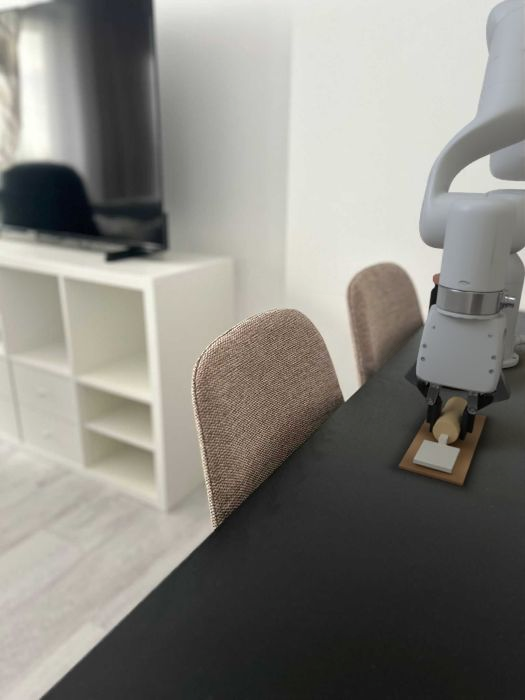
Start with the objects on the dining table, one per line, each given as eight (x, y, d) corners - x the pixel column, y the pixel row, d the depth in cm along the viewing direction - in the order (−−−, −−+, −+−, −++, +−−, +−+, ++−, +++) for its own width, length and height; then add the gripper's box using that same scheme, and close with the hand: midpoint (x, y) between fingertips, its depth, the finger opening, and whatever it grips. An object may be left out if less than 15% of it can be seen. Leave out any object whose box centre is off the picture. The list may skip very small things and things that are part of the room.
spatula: (440, 413, 76) (443, 393, 75) (472, 420, 74) (475, 400, 73) (412, 463, 63) (415, 439, 62) (451, 473, 60) (455, 449, 59)
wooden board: (434, 407, 79) (434, 404, 79) (485, 418, 76) (486, 416, 76) (398, 468, 63) (398, 465, 63) (462, 486, 59) (462, 483, 59)
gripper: (543, 303, 63) (517, 436, 69) (409, 287, 71) (396, 408, 77) (540, 317, 57) (511, 461, 63) (394, 298, 64) (381, 428, 70)
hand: (448, 431), depth 70 cm, fingers closed on spatula, 3 cm apart
